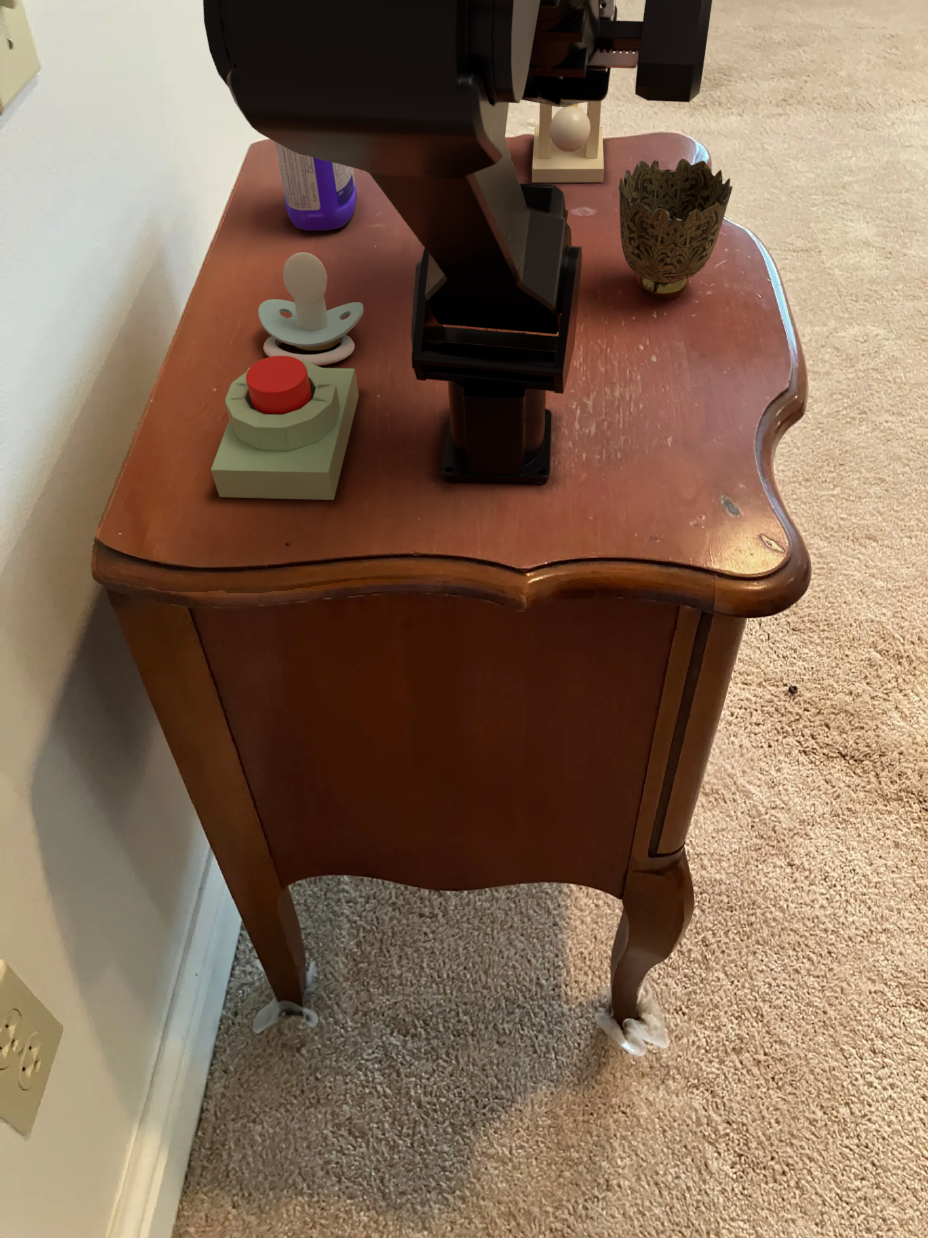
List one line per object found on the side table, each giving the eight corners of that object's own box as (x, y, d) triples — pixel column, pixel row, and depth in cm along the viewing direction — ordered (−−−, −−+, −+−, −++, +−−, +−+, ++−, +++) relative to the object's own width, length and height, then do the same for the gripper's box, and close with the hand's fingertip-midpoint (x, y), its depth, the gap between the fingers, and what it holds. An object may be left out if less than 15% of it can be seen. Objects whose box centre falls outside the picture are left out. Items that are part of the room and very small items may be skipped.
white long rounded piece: (588, 160, 75) (591, 131, 72) (548, 160, 76) (549, 132, 73) (591, 55, 78) (594, 22, 75) (552, 55, 78) (553, 23, 75)
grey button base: (334, 500, 56) (323, 448, 53) (219, 497, 57) (202, 445, 54) (358, 395, 62) (350, 343, 59) (255, 394, 63) (242, 342, 60)
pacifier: (354, 375, 64) (371, 322, 68) (341, 294, 59) (360, 241, 63) (251, 370, 65) (273, 318, 68) (229, 289, 60) (254, 238, 64)
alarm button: (305, 416, 55) (300, 392, 54) (245, 415, 56) (239, 391, 54) (316, 379, 58) (311, 355, 56) (258, 378, 58) (252, 354, 57)
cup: (709, 263, 71) (728, 156, 65) (716, 319, 66) (737, 209, 60) (610, 262, 72) (619, 155, 65) (609, 317, 67) (619, 208, 61)
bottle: (297, 193, 81) (254, -47, 67) (363, 192, 80) (333, -49, 67) (283, 237, 76) (234, -11, 62) (353, 236, 76) (319, -14, 62)
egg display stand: (602, 182, 80) (612, 48, 72) (531, 182, 80) (533, 49, 72) (601, 139, 85) (610, 10, 77) (534, 140, 85) (537, 11, 77)
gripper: (739, -193, 49) (712, -18, 64) (394, -191, 52) (446, -24, 67) (709, 31, 50) (690, 151, 66) (373, 20, 53) (429, 137, 69)
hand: (562, 99), depth 67 cm, fingers closed
